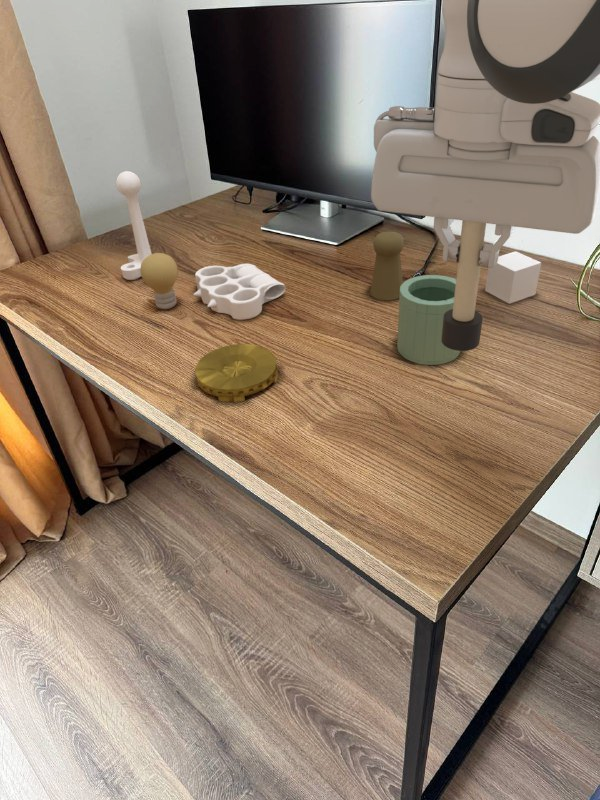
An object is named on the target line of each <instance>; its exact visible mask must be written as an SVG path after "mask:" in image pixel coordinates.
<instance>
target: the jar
mask: <svg viewBox="0 0 600 800" xmlns="http://www.w3.org/2000/svg"><path fill="white" fill-rule="evenodd" d="M455 287H456V278H453V277H450V276H447V275H441V274H426V275H425V274H424V275H418V276H414V277H410V278H408V279H407V280H405V281H403V284H402V285H401V286H400V297H399V298H398V299H399V300H398V301H399V302H398V320H397V321H398V323H397V324H398V325H397V339H396V340H397V342H396V343H397V344H396V349H397V351H398V353H399V354H400V356H401V357H403V358H404V359H405V360H407V361H410V362H412V363H415V364H418V365H423V366H424V365H425V366H437V365H438V366H439V365H443V364H447V363H450V362H452V361H454V360H455V359H456V358H458V357H459V355H460V353H461V351H457V350H452V349H449V348H447V347H446V346H444V345H443V343H442V341H441V338H442V328H443V317H444V314H445V313H446V312H447V311H448V310H451V309H453V305H454V296H455Z"/></svg>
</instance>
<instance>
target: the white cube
mask: <svg viewBox="0 0 600 800" xmlns="http://www.w3.org/2000/svg"><path fill="white" fill-rule="evenodd" d="M541 267H542V262H541V261H539V260H537V259H534V258H533V257H530V256H528V255H525V254H524V253H521V252H519V251H512V252H508V253H505V254H502V255H499V256H498V261H497V264H496V266H495V267H494V268H487V273H486V281H485V289H484V292H486V293H489V294H490V295H492V296H494V297H495V298H497V299H499V300H501V301H503V302H505V303H507V304H509V305H510V304H513V303H516V302H519V301H521V300H524V299H528V298H530V297H533V296H535V295H536V293H537V289H538V288H537V287H538V284H539V283H538V282H539V278H540V272H541Z"/></svg>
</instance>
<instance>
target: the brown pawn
mask: <svg viewBox="0 0 600 800" xmlns="http://www.w3.org/2000/svg"><path fill="white" fill-rule="evenodd" d="M372 245H373V250H374V252H375V260H374V266H373V273H372V279H371V285H370V291H369V292H370V295H371V297H372V298H374V299H377V300H380V301H394V300H397V299H399V297H400V286H401V285H402V284H403V283H404V281H403V270H402V259H401V257H402V256H401V253H402V251H403V249H404V246H405V240H404V237H403V236H402V234H401V233H398V232H396V231H382V232H379V233H378V234H376V235H375V237H374V239H373V244H372Z"/></svg>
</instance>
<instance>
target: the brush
mask: <svg viewBox="0 0 600 800" xmlns="http://www.w3.org/2000/svg"><path fill="white" fill-rule="evenodd" d="M461 221H462V222H461V230H460V231H461V232H460V239H459V240H460V249H459V258H458V263H457V268H456V269H457V270H456V278H455V279H456V287H455V296H454V305H453V309H451V310H448V311H447V312H446V313H445V314H444V317H443V328H442V338H441V341H442V343H443V345H444V346H446V347H447V348H449V349H452V350H457V351H460V352H467V351H472V350H475V349H476V348H478V347H479V346H480V341H481V334H482V327H483V320H484V319H483V317H484V316H483V315H482V313H480V312H479V311H478V310H476V304H477V296H478V290H479V281H480V274H481V268H482V267H481V266H478V264H479V260H480V257H479V256H480V250H481V249H482V248H483V246H484V245H485V237H486V229H487V223H480V222H472V221H463V220H461Z"/></svg>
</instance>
